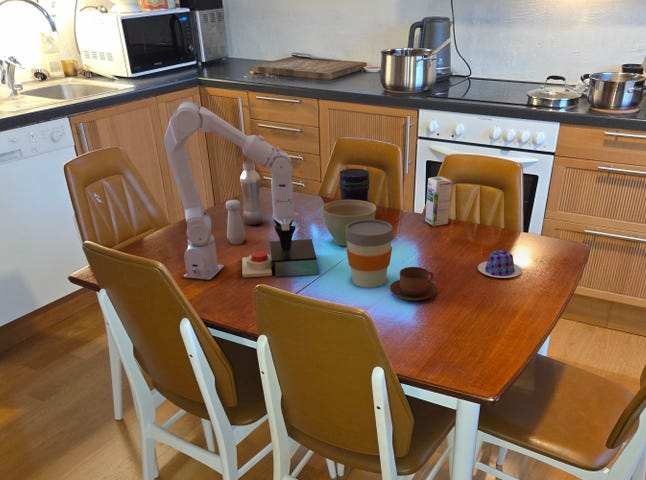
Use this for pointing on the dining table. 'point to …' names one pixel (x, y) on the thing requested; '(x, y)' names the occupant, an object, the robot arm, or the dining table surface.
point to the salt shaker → (235, 223)
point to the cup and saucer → (414, 284)
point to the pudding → (500, 265)
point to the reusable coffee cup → (369, 251)
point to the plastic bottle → (251, 194)
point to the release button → (259, 256)
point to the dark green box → (295, 268)
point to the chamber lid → (293, 251)
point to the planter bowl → (346, 216)
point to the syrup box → (438, 201)
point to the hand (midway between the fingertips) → (285, 246)
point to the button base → (256, 267)
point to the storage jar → (354, 184)
